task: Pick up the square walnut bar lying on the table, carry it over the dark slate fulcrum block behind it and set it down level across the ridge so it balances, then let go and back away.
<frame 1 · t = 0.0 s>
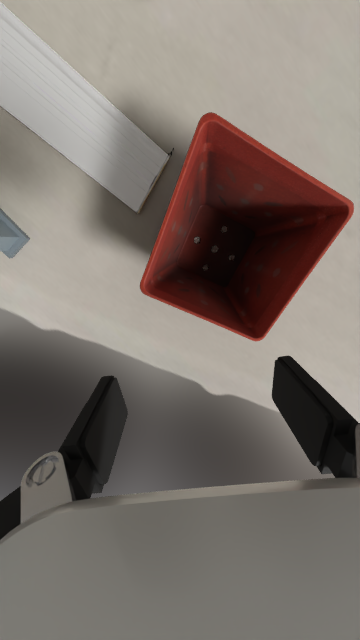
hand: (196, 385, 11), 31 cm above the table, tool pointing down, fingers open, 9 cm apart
plant pot: (213, 248, 37), on the table
slate ridge: (0, 228, 35), on the table
baseboard molding: (77, 117, 30), on the table
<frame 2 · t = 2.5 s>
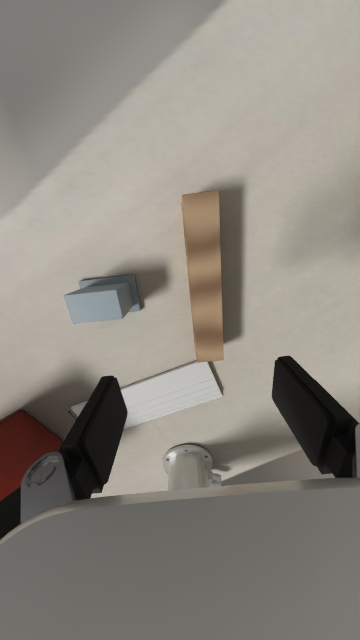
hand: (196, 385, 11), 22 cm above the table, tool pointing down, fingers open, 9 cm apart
plant pot: (26, 434, 43), on the table
walnut rod: (202, 284, 30), on the table
slate ridge: (111, 295, 31), on the table
baseboard molding: (148, 399, 40), on the table
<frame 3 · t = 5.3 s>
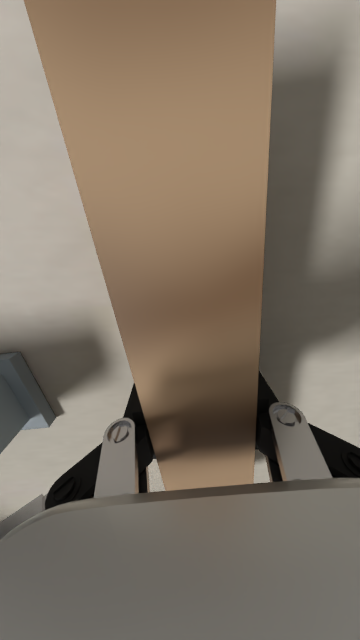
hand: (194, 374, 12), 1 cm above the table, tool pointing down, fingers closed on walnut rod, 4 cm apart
walnut rod: (193, 366, 12), on the table, touching gripper
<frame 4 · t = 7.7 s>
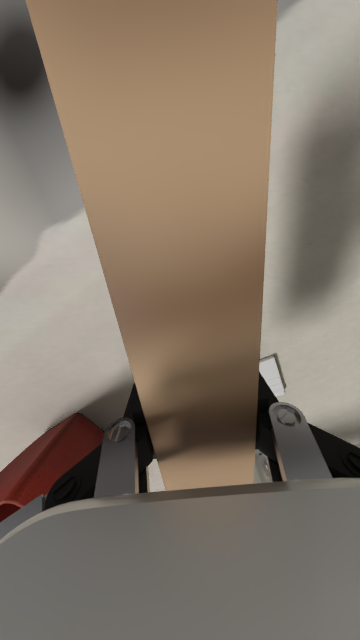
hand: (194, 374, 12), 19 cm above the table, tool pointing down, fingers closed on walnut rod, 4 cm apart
plant pot: (81, 436, 43), on the table
walnut rod: (194, 365, 12), point 18 cm above the table, touching gripper
baseboard molding: (206, 399, 39), on the table
when the fingers open (8 cm above the table, at t = 10.2 s): walnut rod stays where it is, resting on slate ridge.
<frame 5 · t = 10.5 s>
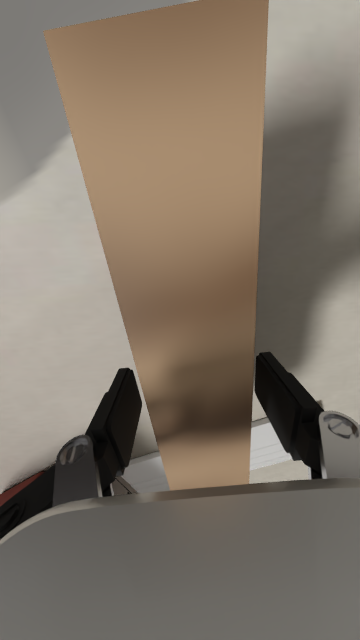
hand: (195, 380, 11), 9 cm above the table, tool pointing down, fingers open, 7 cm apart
plant pot: (52, 495, 33), on the table
walnut rod: (193, 362, 13), point 7 cm above the table, touching slate ridge
baseboard molding: (219, 452, 29), on the table
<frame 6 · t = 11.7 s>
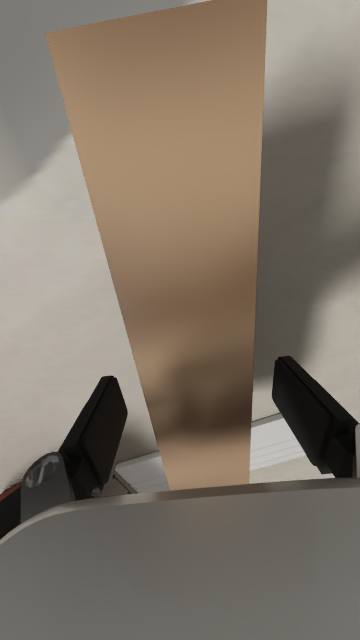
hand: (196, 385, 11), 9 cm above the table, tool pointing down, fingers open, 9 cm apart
walnut rod: (193, 362, 13), point 7 cm above the table, touching slate ridge
baseboard molding: (219, 452, 29), on the table
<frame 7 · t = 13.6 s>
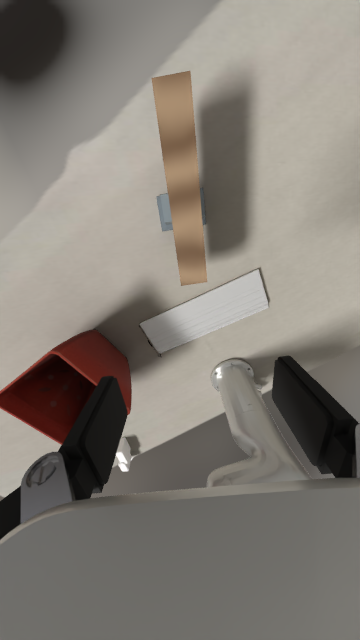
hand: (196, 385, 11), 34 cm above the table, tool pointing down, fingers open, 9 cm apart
plant pot: (97, 355, 50), on the table
walnut rod: (183, 205, 30), point 7 cm above the table, touching slate ridge
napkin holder: (124, 446, 68), on the table
slate ridge: (181, 211, 36), on the table
baseboard molding: (204, 316, 47), on the table
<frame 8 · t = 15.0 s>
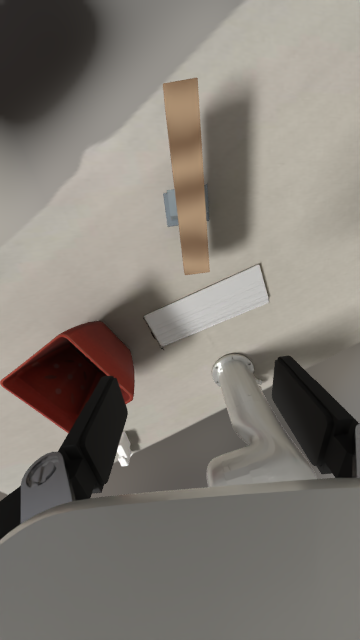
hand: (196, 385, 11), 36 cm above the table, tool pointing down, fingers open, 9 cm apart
plant pot: (101, 346, 52), on the table
walnut rod: (188, 200, 32), point 7 cm above the table, touching slate ridge
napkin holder: (124, 441, 68), on the table
slate ridge: (186, 208, 38), on the table
baseboard molding: (206, 310, 48), on the table
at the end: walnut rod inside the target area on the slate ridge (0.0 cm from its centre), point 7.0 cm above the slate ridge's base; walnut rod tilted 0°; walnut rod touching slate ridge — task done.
